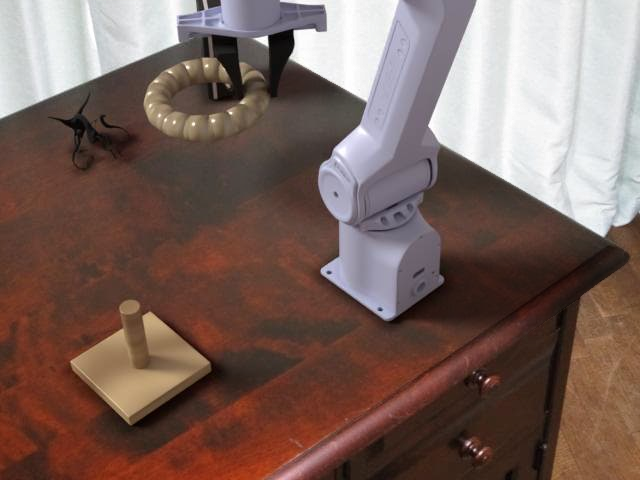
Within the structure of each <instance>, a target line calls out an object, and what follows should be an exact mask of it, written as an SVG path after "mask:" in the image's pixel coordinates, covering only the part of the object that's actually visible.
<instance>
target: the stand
mask: <svg viewBox="0 0 640 480" xmlns="http://www.w3.org/2000/svg"><path fill="white" fill-rule="evenodd" d="M119 315H120V320H121V325H122V328H121V329H119V330H117V331H116V332H114V333H113V334H111V335H110V336H108V337H106V338H105V339H103V340H102V341H100V342H98V343H97V344H95V345H94V346H92V347H90V348H88V349H87V350H86V351H84V352H82V353H81V354H79V355H77V356H76V357H74V358H72V359H71V360H70V361H69V362H70V366H71V369H72V371H73V372H74V373H75V374H76V375H77V376H78V377H79V378H81V380H82V381H83V382H84V383H85V384H87V385H88V386H89V387H90V389H92V391H94V392H95V393H96V394H97V395H98V396H99V397H100V398H101V399H102V400H103V401H104V402H105V403H106V404H107V405H109V407H110V408H112V410H114V411H115V412H116V413H117V414H118V415H119V416H120V417H121V418H122V419H123V420H124V421H125V422H126V423H127V424H128V425H129V426H133V425H134V424H136V423H137V422H139V421H140V420H142V419H143V418H145V417H146V416H147V415H149V414H150V413H152V412H154V411H155V410H156V409H158V408H159V407H161V406H163V405H165V403H166V402H168V401H170V400H171V399H173V398H174V397H175V396H177V395H178V394H180V393H182V392H183V391H184V390H186V389H188V388H189V387H191V385H193V384H195V383H196V382H198V381H199V380H201V379H202V378H204V377H205V376H207V375H208V374H209V373H211V372H212V364H211V362H210V361H209V360H208V359H207V358H206V357H205V356H204V355H202V354H201V353H200V352H199V351H198V350H196V349H195V348H194V347H193V346H192V345H191V344H189V342H187V341H186V340H184V338H182V337H181V336H180V335H178V334H177V333H176V332H175V331H174V330H173V329H172V328H170V326H168V325H167V324H166V323H165V322H164V321H162V320H161V319H160V318H159V317H158V316H157V315H155V314H154V313H153V312H152V311H148V312H146V313H145V314H144V315H143V313H142V306H141V303H140V302H139V301H137V300H135V299H127V300H125V301H122V302H121V304H120V305H119Z"/></svg>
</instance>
